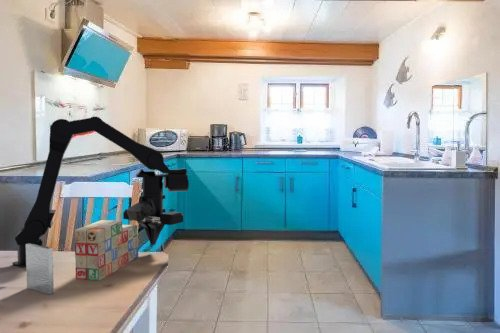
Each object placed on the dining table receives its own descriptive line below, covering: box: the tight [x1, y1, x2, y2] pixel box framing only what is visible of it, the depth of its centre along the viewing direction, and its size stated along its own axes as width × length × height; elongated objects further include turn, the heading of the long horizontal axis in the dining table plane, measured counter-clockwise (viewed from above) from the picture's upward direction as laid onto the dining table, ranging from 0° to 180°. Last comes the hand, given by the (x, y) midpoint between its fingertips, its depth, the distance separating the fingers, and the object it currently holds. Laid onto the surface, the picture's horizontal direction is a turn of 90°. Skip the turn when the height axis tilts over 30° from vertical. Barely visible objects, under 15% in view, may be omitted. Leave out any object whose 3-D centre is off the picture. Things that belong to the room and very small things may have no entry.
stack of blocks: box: [74, 219, 139, 281], centre depth 112 cm, size 21×6×12 cm, turn 169°
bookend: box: [25, 243, 55, 295], centre depth 94 cm, size 8×1×10 cm, turn 61°
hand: (152, 244), depth 126 cm, fingers closed
